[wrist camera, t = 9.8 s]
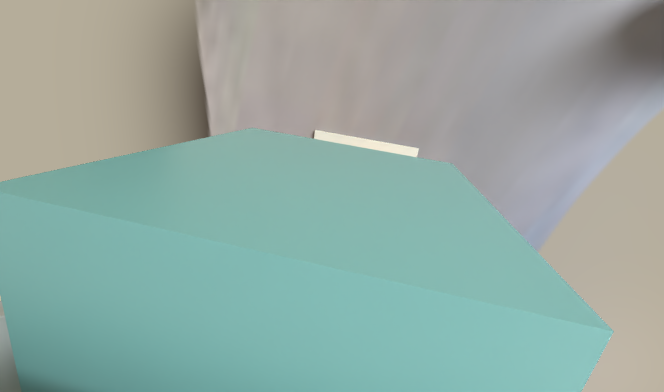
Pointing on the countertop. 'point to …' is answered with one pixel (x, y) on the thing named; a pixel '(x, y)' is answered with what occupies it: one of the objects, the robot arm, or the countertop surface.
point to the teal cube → (280, 276)
